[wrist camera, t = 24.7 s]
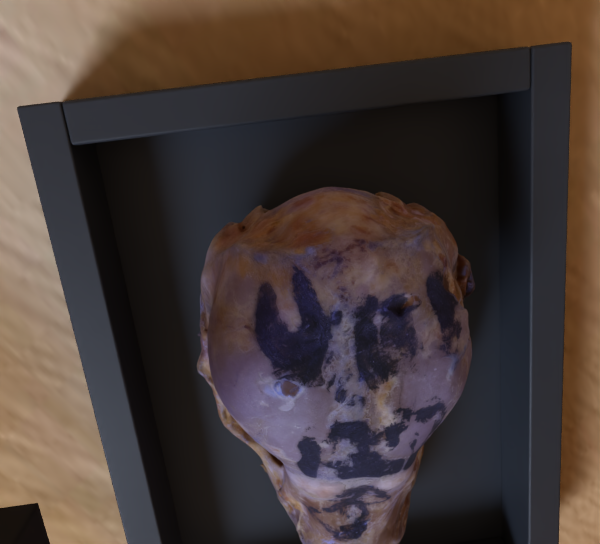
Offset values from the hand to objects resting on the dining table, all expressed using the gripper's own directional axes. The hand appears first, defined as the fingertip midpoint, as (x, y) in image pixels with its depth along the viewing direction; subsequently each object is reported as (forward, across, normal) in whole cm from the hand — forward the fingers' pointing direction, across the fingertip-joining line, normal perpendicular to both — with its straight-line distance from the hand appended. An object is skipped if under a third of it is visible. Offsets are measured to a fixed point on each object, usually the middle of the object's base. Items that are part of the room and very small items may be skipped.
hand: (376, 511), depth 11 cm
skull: (+7, 0, 0) cm, 7 cm away
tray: (+7, 0, 0) cm, 7 cm away
